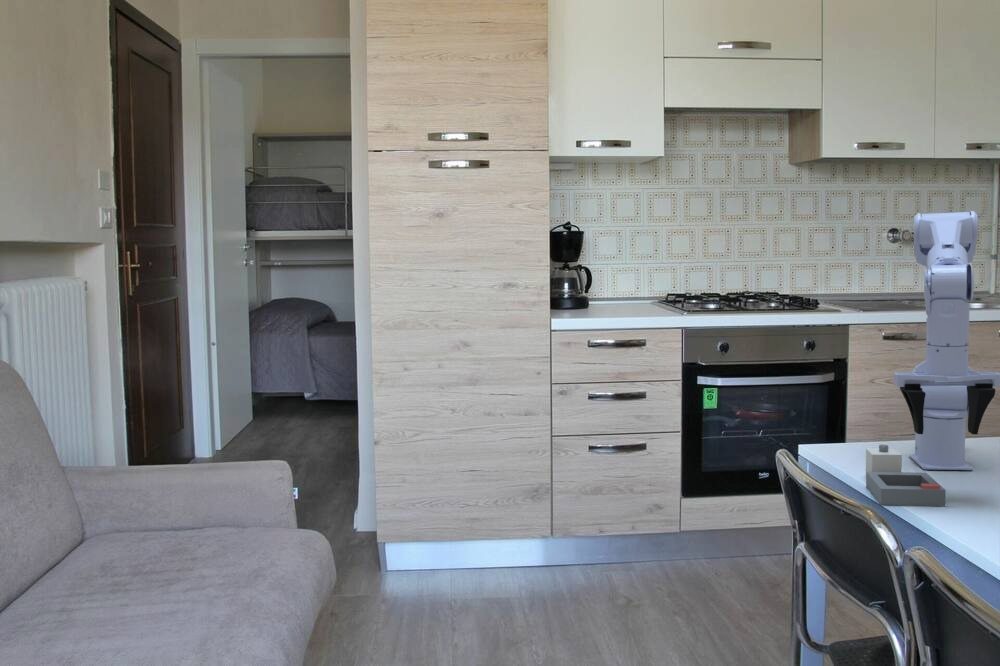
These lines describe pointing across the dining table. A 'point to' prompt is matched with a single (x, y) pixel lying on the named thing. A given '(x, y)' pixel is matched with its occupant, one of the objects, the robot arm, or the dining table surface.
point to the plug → (883, 459)
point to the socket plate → (905, 489)
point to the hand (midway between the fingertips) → (945, 432)
